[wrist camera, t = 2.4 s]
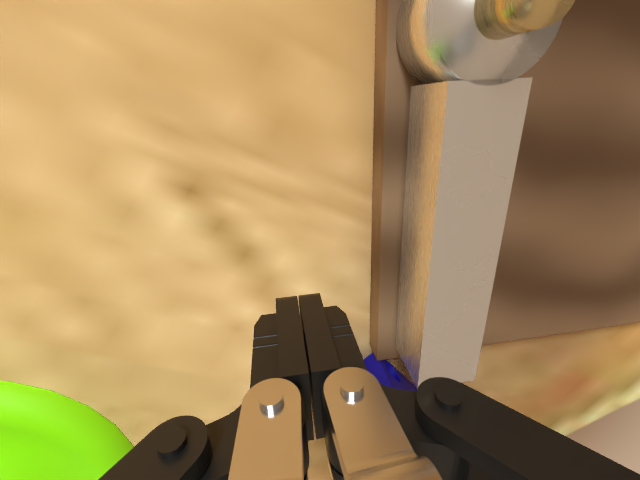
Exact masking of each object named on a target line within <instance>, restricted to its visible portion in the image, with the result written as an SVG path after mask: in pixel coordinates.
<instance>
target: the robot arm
mask: <svg viewBox="0 0 640 480" xmlns="http://www.w3.org/2000/svg"><path fill="white" fill-rule="evenodd" d="M299 308H300V313H299ZM311 405H312V409H311ZM312 412H313V419H314V426H315V433H316V439H319V438H325V443H326V449H327V459H328V470H329V474H330V478H331V480H640V474H638V473H636V472H634V471H632V470H630V469H628V468H626V467H624V466H622V465H620V464H618V463H616V462H614V461H612V460H611V459H609V458H606V457H605V456H603V455H601V454H599V453H597V452H595V451H593V450H591V449H589V448H587V447H585V446H583V445H581V444H579V443H577V442H575V441H573V440H571V439H570V438H568V437H566V436H564V435H562V434H560V433H558V432H556V431H554V430H552V429H550V428H548V427H546V426H544V425H542V424H540V423H538V422H536V421H534V420H532V419H531V418H529V417H527V416H525V415H523V414H521V413H519V412H517V411H515V410H513V409H511V408H509V407H507V406H505V405H503V404H501V403H499V402H497V401H495V400H493V399H492V398H490V397H488V396H486V395H484V394H482V393H480V392H478V391H476V390H474V389H472V388H470V387H468V386H466V385H464V384H462V383H460V382H458V381H456V380H453V379H450V378H445V377H433V378H429V379H427V380H425V381H423V382H422V383H421V384H420V385H419V387H418V389H417V391H409V390H401V389H395V388H391V387H387V386H385V385H383V384H381V383H379V382H378V380H377V379H376V378H375V376H374V375H372V374H371V373H370V372H368V370H367V368H366V366H365V363H364V360H363V358H362V355H361V353H360V350H359V347H358V345H357V342H356V339H355V337H354V335H353V332H352V329H351V326H350V324H349V321H348V318H347V316H346V314H345V313H344V312H343V311H342V310H341V309H340V308H338V307H337V306H330V307H323V304H322V300H321V296H320V293H317V294H308V295H300V296H299V306H298V300H297V296H292V297H284V298H276V313H275V314H267V315H261V317H260V318H259V320H258V321H257V323H256V324H255V326H254V339H253V354H252V369H251V384H250V390H249V391H248V392H247V393H246V395H245V396H244V398H243V401H242V404H241V405H240V406H239V407H238V408H237V409H236V410H235V411H233V412H232V413H230V414H229V415H227V416H225V417H223V418H221V419H219V420H216V421H214V422H212V423H210V424H208V425H205V424H204V422H203V421H202V420H200V419H199V418H197V417H194V416H179V417H175V418H172V419H170V420H167V421H166V422H164V423H162V424H160V425H159V426H157V427H156V428H155V429H154V430H152V431H151V432H150V433H149V434H148V435H147V436H146V437H145V438H144V439H142V440H141V441H140V442H139V443H138V444H137V445H136V446H135V447H134V448H133V449H131V450H130V451H129V452H128V453H127V454H126V455H125V456H124V457H123V458H121V459H120V460H119V461H118V462H117V463H116V464H115V465H114V466H113V467H112V468H110V469H109V470H108V471H107V472H106V473H105V474H104V475H103V476H102V477H100V478H99V479H98V480H308V467H309V450H308V441H309V440H314V434H313V421H312Z"/></svg>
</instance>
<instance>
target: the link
mask: <svg viewBox="0 0 640 480" xmlns="http://www.w3.org/2000/svg"><path fill="white" fill-rule="evenodd" d="M574 2H575V0H403V1H402V4H401V7H400V10H399V14H398V19H397V45H398V50H399V54H400V57H401V59H402V62H403V64H404V66H405V68H406V69H407V71H408V72H409V73H410V75H411V76H412V77H413V78H414V79H415V80H417V81H418V82H419V83H420V84H422V85H416V86H411V89H410V106H409V123H408V140H407V157H406V174H405V191H404V208H403V225H402V242H401V260H400V277H399V294H398V311H397V328H396V345H395V348H396V349H397V351H398V353H399V355H400V357H401V359H402V361H403V363H404V365H405V367H406V368H407V370H408V372H409V374H410V376H411V378H412V380H413V382H414V384H415V386H416V387H417V389H418V387H419V385H420V384H421V383H422V382H423V381H425V380H427V379H429V378H433V377H445V378H450V379H453V380H456V381H458V382H460V383H461V382H467V381H474V380H475V377H476V372H477V367H478V362H479V356H480V351H481V346H482V341H483V335H484V330H485V325H486V320H487V314H488V309H489V304H490V299H491V293H492V288H493V283H494V278H495V272H496V267H497V262H498V257H499V251H500V246H501V241H502V236H503V230H504V225H505V220H506V215H507V209H508V204H509V199H510V194H511V188H512V183H513V178H514V173H515V167H516V162H517V157H518V152H519V146H520V141H521V136H522V131H523V125H524V120H525V115H526V110H527V104H528V99H529V94H530V89H531V83H532V78H533V77H530V78H517V77H519V76H521V75H522V74H524V73H525V72H526V71H528V70H529V69H530V68H531V67H532V66H534V65H535V64H536V63H537V62H538V61H539V59H540V58H541V57H542V56H543V55H544V53H545V52H546V51H547V49H548V48H549V46H550V45H551V43H552V41H553V40H554V38H555V36H556V34H557V32H558V30H559V28H560V25H561V22H562V20H563V17H564V16H565V15H566V13H567V12H568V11H569V10H570V8H571V7H572V5H573V4H574Z"/></svg>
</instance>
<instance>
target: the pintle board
mask: <svg viewBox="0 0 640 480" xmlns="http://www.w3.org/2000/svg"><path fill="white" fill-rule="evenodd" d="M402 1H403V0H376V32H375V85H374V138H373V191H372V244H371V297H370V346H371V348H372V350H373V353H374V355H375V357H376V360H377V361H379V360H386V359H392V358H399V357H400V355H399V353H398V351H397V349H396V348H395V345H396V328H397V311H398V294H399V277H400V260H401V242H402V225H403V208H404V191H405V174H406V157H407V140H408V123H409V106H410V89H411V86H416V85H422V84H420V83H419V82H418V81H417V80H415V79H414V78H413V77H412V76H411V75H410V73H409V72H408V71H407V69H406V68H405V66H404V64H403V62H402V59H401V57H400V54H399V50H398V45H397V19H398V14H399V10H400V7H401V4H402ZM530 77H533V78H532V83H531V89H530V94H529V99H528V104H527V110H526V115H525V120H524V125H523V131H522V136H521V141H520V146H519V152H518V157H517V162H516V167H515V173H514V178H513V183H512V188H511V194H510V199H509V204H508V209H507V215H506V220H505V225H504V230H503V236H502V241H501V246H500V251H499V257H498V262H497V267H496V272H495V278H494V283H493V288H492V293H491V299H490V304H489V309H488V314H487V320H486V325H485V330H484V335H483V341H482V345H488V344H495V343H501V342H508V341H515V340H522V339H529V338H535V337H542V336H549V335H556V334H563V333H570V332H576V331H583V330H590V329H597V328H604V327H610V326H617V325H624V324H631V323H638V322H640V0H575V2H574V4H573V5H572V7H571V8H570V10H569V11H568V12H567V13H566V15H565V16H564V17H563V20H562V22H561V25H560V28H559V30H558V32H557V34H556V36H555V38H554V40H553V41H552V43H551V45H550V46H549V48H548V49H547V51H546V52H545V53H544V55H543V56H542V57H541V58H540V59H539V61H538V62H537V63H536V64H535V65H534V66H532V67H531V68H530V69H529V70H528V71H526V72H525V73H524V74H522V75H521V76H519V77H517V78H530Z"/></svg>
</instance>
